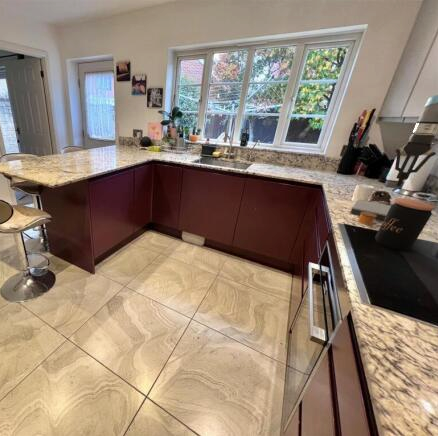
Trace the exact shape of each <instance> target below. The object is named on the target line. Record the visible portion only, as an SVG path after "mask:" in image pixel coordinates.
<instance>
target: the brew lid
mask: <svg viewBox="0 0 438 436" xmlns="http://www.w3.org/2000/svg"><path fill="white" fill-rule="evenodd" d="M390 207H391V205H390V204H384V203H378V202H375V201H371V202H370V200H369V201H368V200H367V201H364V200H357V202H354V205H353V206H352V208H351V210H352V209H356V210H360V211H365V212H369V213H374V214H378V215H383V216H386V215H387V213H388V211H389V209H390Z"/></svg>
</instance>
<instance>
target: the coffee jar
mask: <svg viewBox="0 0 438 436" xmlns="http://www.w3.org/2000/svg"><path fill="white" fill-rule="evenodd" d="M393 202H394V203H393V204H391V205H390V206H391V207H390V209H389V211H388V213H387V215H386V217H385V219H384V221H382V223H381V225H380V226H379V228H378V230H377V232H376V234H375V236H374V238H375V241H376V243H378V244H379V245H381V246H383V247H386V248H389V249H390V250H391V249H392V250H396V251H402V252H403V251H408V250H411V249H412V248H413V246H414V245H415V243H416V241H417V240H418V238H419V236H420V235H421V233H422V231H423V230H424V228H425V226H426V225H427V224H428V222H429V220H430V218H431V216H432V215H433V213H432V212H433V211H434V210H436V208H437V207H436V206H435V205H433V204H432V203H428V202H426V201H421V200H417V199H413V198H405V197H395V198H394V200H393Z"/></svg>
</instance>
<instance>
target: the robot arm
mask: <svg viewBox="0 0 438 436" xmlns="http://www.w3.org/2000/svg"><path fill="white" fill-rule="evenodd" d="M411 133H412V134H410V136H409V138H408V140H407V142H406V144H404V146H403V147H400V148H396V149H395V152H396V158H395V167H394V170H395V171H398V173H397V175H396V179H397V182H396V184H395V186H396V187H401V186H402V184H403V182H404V181H405V180H406V181H407V180H409V177H410V175H411V174H413V173H418V172H419V171H420V170H421V168H422V167H423V166H424V165H425V164H426V163H427V162H428V161H429V159H430V158H432V157H433V156H435V155H436V154H437V152H436V151H433V150H432V144H433V142H434V140H435V138H436V135H437V134H438V94H435V95H431V96H430V97H428V99H427V101H426V103H425V105H424V106H423V107H422V110H421V113H420V115H419V116H418V119H417V121H416V123H415V125H414V127H413V129H412V132H411ZM403 152H404V153H405V154H406V156H405V159H404V161H403V162H402V165H401V164H400V163H401V155H402V153H403ZM424 154H426V156H425V157H424V158H423V159H422V160H421V161H420V162H419V163H418V164H417V166H416V163H417V162H418V159H420V158H419V157H420V156H423V155H424ZM412 156H414V157H413V159H412V161H411V163H410V165H409V167H408V169H407V171H404V170H405V169H406V166H407V165H408V163H409V161H410V159H411V157H412ZM400 165H401V166H400ZM415 166H416V167H415Z"/></svg>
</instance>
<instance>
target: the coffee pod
mask: <svg viewBox="0 0 438 436" xmlns="http://www.w3.org/2000/svg"><path fill="white" fill-rule="evenodd" d="M375 217H377V215H375V214H373V213H369V212H361V215H360V216H359V217H358V219H357V222H358V223H360V224H363V225H365V226H372V225H373V223H374V221H375Z"/></svg>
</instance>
